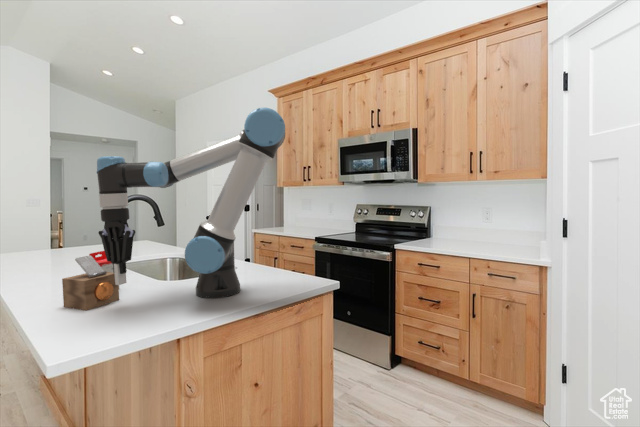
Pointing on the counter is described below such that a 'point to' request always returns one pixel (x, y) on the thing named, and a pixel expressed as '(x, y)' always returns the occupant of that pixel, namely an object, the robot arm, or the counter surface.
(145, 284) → the counter surface
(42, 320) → the counter surface
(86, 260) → the plate
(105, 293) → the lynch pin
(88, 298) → the block
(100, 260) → the ink box
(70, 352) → the counter surface
